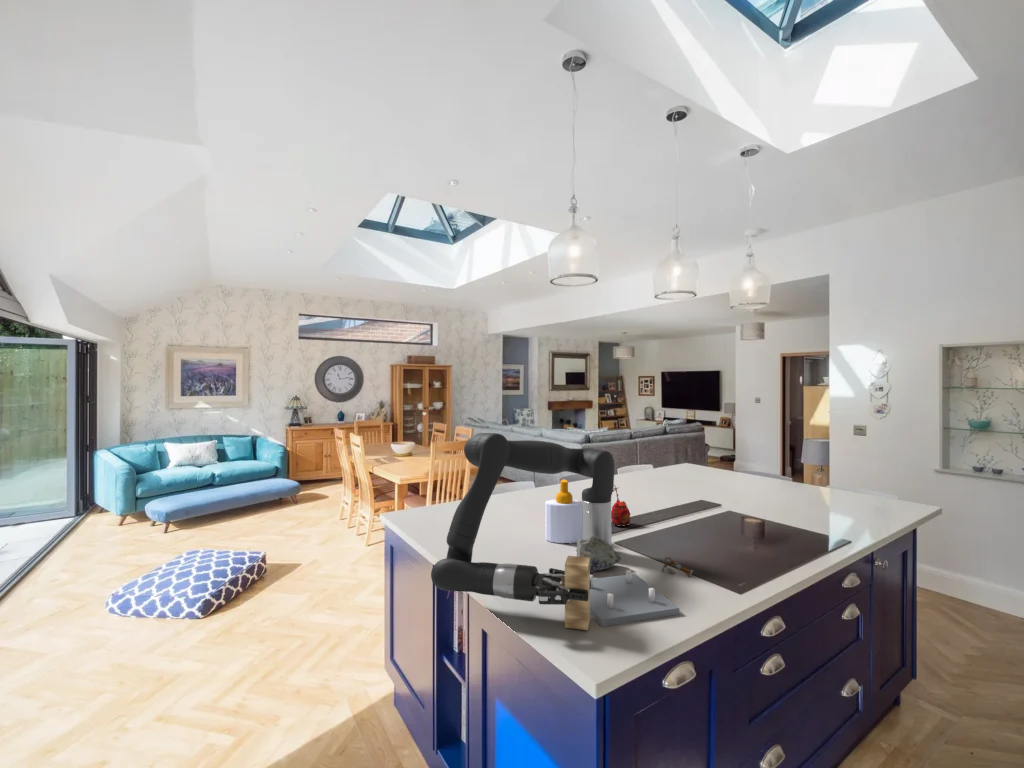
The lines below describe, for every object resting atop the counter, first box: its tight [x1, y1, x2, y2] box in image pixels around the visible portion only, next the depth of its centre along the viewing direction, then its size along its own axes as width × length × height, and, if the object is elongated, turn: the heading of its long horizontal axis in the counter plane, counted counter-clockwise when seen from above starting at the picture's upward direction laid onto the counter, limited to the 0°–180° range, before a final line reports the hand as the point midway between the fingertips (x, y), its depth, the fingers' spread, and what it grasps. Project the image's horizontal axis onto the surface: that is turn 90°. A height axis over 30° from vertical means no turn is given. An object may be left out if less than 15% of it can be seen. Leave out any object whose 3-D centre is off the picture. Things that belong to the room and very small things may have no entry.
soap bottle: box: [544, 478, 582, 544], centre depth 158 cm, size 13×8×20 cm, turn 84°
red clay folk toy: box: [611, 484, 631, 525], centre depth 175 cm, size 8×7×15 cm
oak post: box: [564, 555, 591, 631], centre depth 102 cm, size 5×5×14 cm
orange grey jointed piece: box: [661, 556, 694, 578], centre depth 130 cm, size 2×8×4 cm, turn 64°
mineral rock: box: [575, 535, 622, 573], centre depth 133 cm, size 13×11×10 cm
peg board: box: [590, 569, 680, 627], centre depth 114 cm, size 20×20×4 cm
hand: (589, 589), depth 102 cm, fingers closed on oak post, 5 cm apart
